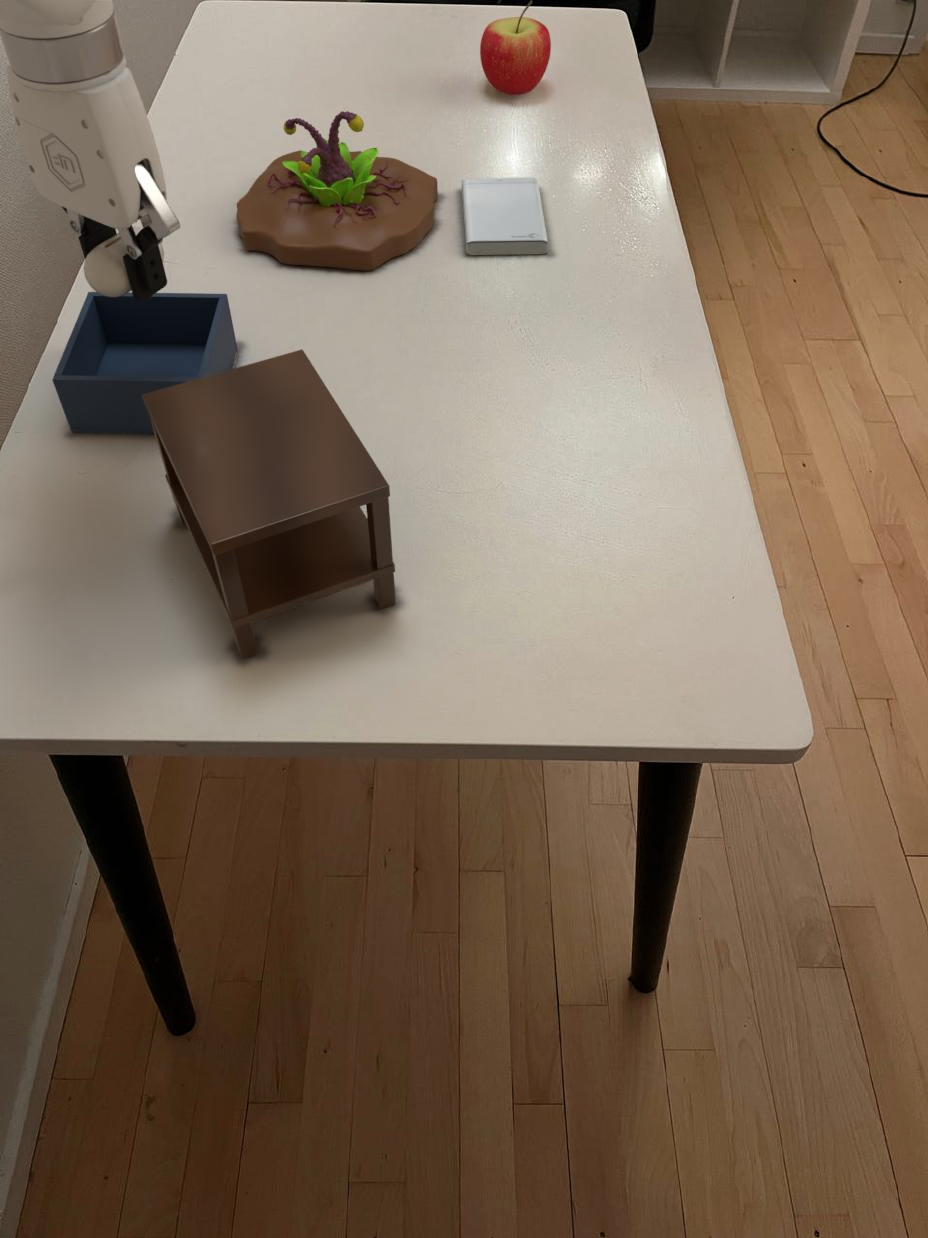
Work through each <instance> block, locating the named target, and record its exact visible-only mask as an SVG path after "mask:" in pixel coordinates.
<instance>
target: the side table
mask: <svg viewBox="0 0 928 1238" xmlns="http://www.w3.org/2000/svg"><path fill="white" fill-rule="evenodd" d="M142 398H143V401H144V405H145V407H146V409H147V411H148V414H149V416H150V420H151V423H152V427H153V430H154V434H153V435H154V438H155V440H156V444H157V447H158V451H159V455H160V457H161V461H162V464H163V468H164V472H165V475H164V476H165V480H166V483H167V485H168V487H169V490H170V493H171V496H172V500H173V503H174V506H175V510H176V514H177V517H178V518H179V519H178V520H179V521H180V523H181V525H182V526H184V525H185V526H186V527H187V530H188V532H189V534H190V536H191V539H192V541H193V543H194V545H195V548H196V550H197V552H198V555H199V557H200V558H201V559H200V560H201V561H202V564H203V565H204V567H205V570H206V572H207V574H208V576H209V579H210V582H211V584H212V586H213V588H214V589H215V592H216V594H217V596H218V599H219V602H220V603H221V605H222V608H223V611H224V613H225V614H226V617H227V619H228V621H229V623H230V626H231V631H232V634H233V637H234V641H235V645H236V649H237V651H238V653H239V656H240V657H241V659H242V660H247V659H248V658H251V657H254V656H257V655H259V651H258V646H257V642H256V636H255V633H254V629H253V625H252V623H255V622H258V621H260V620H264V619H267V618H268V617H272V616H274V615H277V614H280V613H283V612H285V611H288V610H292V609H294V608H297V607H300V606H303V605H305V604H308V603H312V602H314V601H317V600H319V599H322V598H326V597H328V596H330V595H333V594H336V593H339V592H342V591H344V590H347V589H350V588H353V587H356V586H359V585H362V584H364V583H367V582H370V581H372V583H373V593H374V600H375V601H376V603H377V605H378V606H379V608H380V609H381V610H383V609H386V608H389V607H392V606H394V605H396V604H397V602H396V601H397V600H396V588H395V586H396V585H395V572H396V564H395V562H394V557H393V546H392V529H391V515H390V502H389V501H390V499H389V497H391V491H390V489H391V488H390V484H389V483H388V482H387V480H386V479H385V476H384V474H382V472H381V470H380V469H379V468H378V465H377V464H376V462H375V461H374V459H373V458H372V456H371V455H370V453H369V452H368V450H367V448H366V447H365V446H364V443H363V442H362V440H361V439H360V437H359V436H358V434H357V433H356V431H355V429H354V428H353V427H352V424H351V423H350V421H349V420H348V418H347V417H346V416H345V413H344V412H343V411H342V409H341V408H340V406H339V405H338V403H337V401H336V400H335V398H334V396H333V395H332V394H331V392H330V391H329V389H328V387H327V386H326V384H325V382H324V381H323V378H321V376H320V375H319V373H318V372H317V370H316V368H315V366H314V365H313V364H312V362H311V361H310V359H309V357H308V355H307V354H306V353H305V351H304V349H298V350H295V351H292V352H288V353H284V354H281V355H277V356H274V357H270V358H267V359H263V360H260V361H259V360H258V361H255V362H253V363H249V364H245V365H242V366H238V367H235V368H232V369H231V370H227V371H224V372H220V373H217V374H213V375H210V376H206V377H203V378H199V379H196V380H192V381H189V382H185V383H181V384H178V385H174V386H171V387H167V388H164V389H160V390H157V391H153V392H150V393H146V394H143V395H142ZM363 506H366V507H365V508H366V515H365V512H364V510H363V509H362V508H361V507H363Z"/></svg>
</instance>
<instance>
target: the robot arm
mask: <svg viewBox="0 0 928 1238" xmlns="http://www.w3.org/2000/svg"><path fill="white" fill-rule="evenodd" d="M0 38H1V42H2V45H3V48H4V51H5V53H6V54H5V55H6V57H7V62H6V75H7V83H8V89H9V96H10V102H11V106H12V111H13V115H14V120H15V125H16V128H17V132H18V137H19V139H20V143H21V147H22V150H23V154H24V158H25V161H26V164H27V165H26V166H27V168H28V170H29V175H30V177H31V180H32V183H33V185H34V187H35V190H36V192H38V193H39V195H41V197H43V198H44V199H46V200H47V201H49V202H51V203H53V204H56V205H58V206H60V207H61V208H62V209H63V211H64V212H65V213H66V215H67V220H68V224H69V227H70V229H71V230H72V232H73V233H75V235H76V234H77V235H78V241H79V245H80V248H81V251H82V254H83V257H84V260H85V259H86V257H87V255H88V254H89V252H90V251H91V250H92V249H94V248H95V247H96V246H98V245H100V244H101V243H103V242H104V241H106V240H108V239H109V238H111V237H113V236H114V235H116V234H117V233H119V234H120V236H121V239H122V241H123V244H124V246H125V249H126V251H127V254H125V255H124V256H123V261H124V265H125V268H126V272H127V275H128V278H129V282H130V286H131V292H132V294H133V297H134V299H135V300H137V301H139V302H143V301H145V300H146V299H148V298H149V297H151V296H152V295H154V294H155V293H159V292H160V291H161V290H163V289H164V288H165V287H166V286H167V284H168V278H167V273H166V271H165V265H164V261H163V262H162V258H161V253H160V249H159V244H160V243H163V239H165V238H166V237H168V236H170V235H172V234H173V233H174V232H176V231H178V230H179V229H180V228H181V222H180V220H179V218H178V216H177V215H176V214H175V212H174V210H173V209H172V208H171V206H170V204H169V202H168V201H167V200H168V198H167V197H168V194H167V185H166V179H165V174H164V171H163V170H164V169H163V166H162V163H161V158H160V157H161V156H160V153H159V151H158V146H157V143H156V140H155V135H154V133H153V130H152V126H151V124H150V119H149V118H148V114H147V111H146V108H145V106H144V105H145V104H144V103H143V100H142V97H141V95H140V92H139V89H138V87H137V84H136V82H135V79H134V77H133V74H132V72H131V69H130V68H128V67H127V57H126V54H125V51H124V45H123V42H122V37H121V32H120V28H119V25H118V21H117V16H116V11H115V8H114V3H113V0H0ZM139 220H140V223H141V227H142V228H143V229H141V230H140V232H139V233H138V234H137V235H135V232H134V229H133V227H134V226H133V225H134V224H135V223H137V222H138V221H139Z"/></svg>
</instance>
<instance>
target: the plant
mask: <svg viewBox="0 0 928 1238" xmlns="http://www.w3.org/2000/svg"><path fill="white" fill-rule="evenodd" d="M342 120H345V121H346V123H347V125H348V127H349V129H350V130H351V131H352V132H355V133H360V132H363V129H364V126H365V122H364V120H363V119H362V117H361V116H360V115H358V113H354V112H352V111H351V112H350V111H348V110H346V111H340V112H339V113H338V114H336V115H335V116H334V119H333V121H332V122H331V124H330V127H329V133H328V138H327V139H326V138H324V137H323V136H322V134H321V133H320V132H319V130H318V129H316V127H315V126H313V124H311V123H309V122H308V121H306V120H304V119H302V118H299V117H295V118H291V119H290V118H289V119H288V120H285V122H284V124H283V131H284V133H285V134H286V135H288V136H293V134H295V133H296V131H297V125H298V126H301V127H303V129H304V130H306V131H308V133H309V135H310V137H311V139H313V140H314V142H315V144H316V147H313V148H312V149H310V150H309V151H306V150H296V151H292V152H289V153H286V154H282V155H281V156H278V157H277V158H275V159H274V160H273V161H271V163H270V164H269V165H268V166H267V167H266V168H265V170H264V171H263V172H262V173H261V174H260V175H259V176H258V177H257V178H256V180H255V181H254V182H253V183H252V185H251V186H250V187H249V189H248V191H247V193H246V194H245V195H243V196H242V197H241V198H240V199H239V200H238V201H237V203H236V222H237V229H238V234H239V235H240V237H241V238H242V240H243V244H244V249H245V250H246V251H255V252H257V251H258V252H263V253H267V254H269V255H272V256H273V258H276V260H278V262H280V263H281V264H285V265H290V266H308V267H323V268H325V267H327V268H337V269H338V268H339V269H345V270H355V271H366V272H367V271H373V270H375V269H377V268H379V267H380V266H382V265H383V264H384V263H386V262H388V261H390V260H391V259H393V258H396V257H399V256H402V255H405V254H407V253H409V252H410V251H412V250H413V249H414V248H416V246H418V245H419V243H420V242H421V241H422V240H423V238H424V237H425V236H426V235H427V233H429V231H430V230H432V228H433V226H434V223H435V205H434V203H435V202H436V200H437V199H438V197H439V191H438V179H437V177H435V176H433V175H430V174H428V173H427V172H425V171H423V170H421V169H419V168H417V167H415V166H412V165H410V164H409V163H406V162H404V161H402V160H400V159H397V158H394V157H389V156H388V157H386V156H378V155H379V152H380V151H379V148H378V147H371V148H367V149H365V150H362V151H361V150H357V151H350V150H349V147H348V145H347V144H346V142H344V141H341V142H340V137H339V133H340V131H339V128H340V127H341V121H342Z"/></svg>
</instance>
